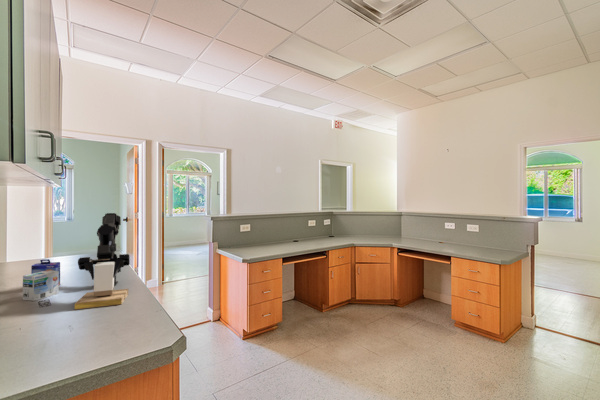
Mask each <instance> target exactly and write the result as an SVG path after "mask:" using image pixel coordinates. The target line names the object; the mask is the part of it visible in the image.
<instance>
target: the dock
mask: <svg viewBox="0 0 600 400" xmlns="http://www.w3.org/2000/svg"><path fill="white" fill-rule="evenodd" d="M128 295H129V288H121V289H120V288H119V289H114V291H113V294H112V295H104V296H94V291H92V292H86V293H84V294H83V296H81V298H79V299H78V300H77V301H76V302H75V303H74V310H81V309H92V308H101V307H111V306H119V305H123V303H124V301H126V299H127V297H128Z"/></svg>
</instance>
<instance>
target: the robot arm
mask: <svg viewBox="0 0 600 400" xmlns="http://www.w3.org/2000/svg"><path fill="white" fill-rule="evenodd" d="M101 218H102V220H101V221H102V222H101V223H102V224H101V225H100V226H99V228H98V229H97V231H96V236H97V237H98V240H99V245H97V249H96V250H97V251H96V258H97V259H92V258H91V256H84V257H83V256H81V257H79V258H78V259H77V265H78V269H79V270H80V271H81V270H85V271H86V272H88V273H89V274H90V277H91V280H93V281H94V274H95V267H94V265H96V264H97V263H98V262H115V268H114V274H113V278H114V287H115V286H116V285H117V284H118V283H119V281H117V274H118V273H121V272H122V268H124V267H127V266H129V265H130V264H131V262H130V261H131V259H130V257H131V256H130V254H128V253H123V254H119V255H117V254H116V252H117V243H116V237H117V236H118V235H119V232H120V231H119V230H120V226H121V223H122V222H121V221H122V218H121V216H120V215H118V214H117V213H115V212H107V213H105V214H104V216H102V217H101Z"/></svg>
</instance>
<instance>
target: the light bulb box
mask: <svg viewBox="0 0 600 400" xmlns="http://www.w3.org/2000/svg"><path fill="white" fill-rule="evenodd" d="M59 287H60V286H59V271H52V270H46V271H42V272H38V273H33V274H31V273H29V274H25V275H22V301H31V302H34V301H38V300H42V299H45V298H48V297H51V296H52V297H53V296H55V295H58V294H59Z"/></svg>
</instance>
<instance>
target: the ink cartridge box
mask: <svg viewBox="0 0 600 400" xmlns="http://www.w3.org/2000/svg"><path fill="white" fill-rule="evenodd" d="M39 260H40V262H38V263H34V264H32V265H31V270H30V271H31V272H30V274H33V273H38V272H42V271H46V270H52V271H59V287H60V286H61V262H60V261H56V262H52V261H50V259H39Z"/></svg>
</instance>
